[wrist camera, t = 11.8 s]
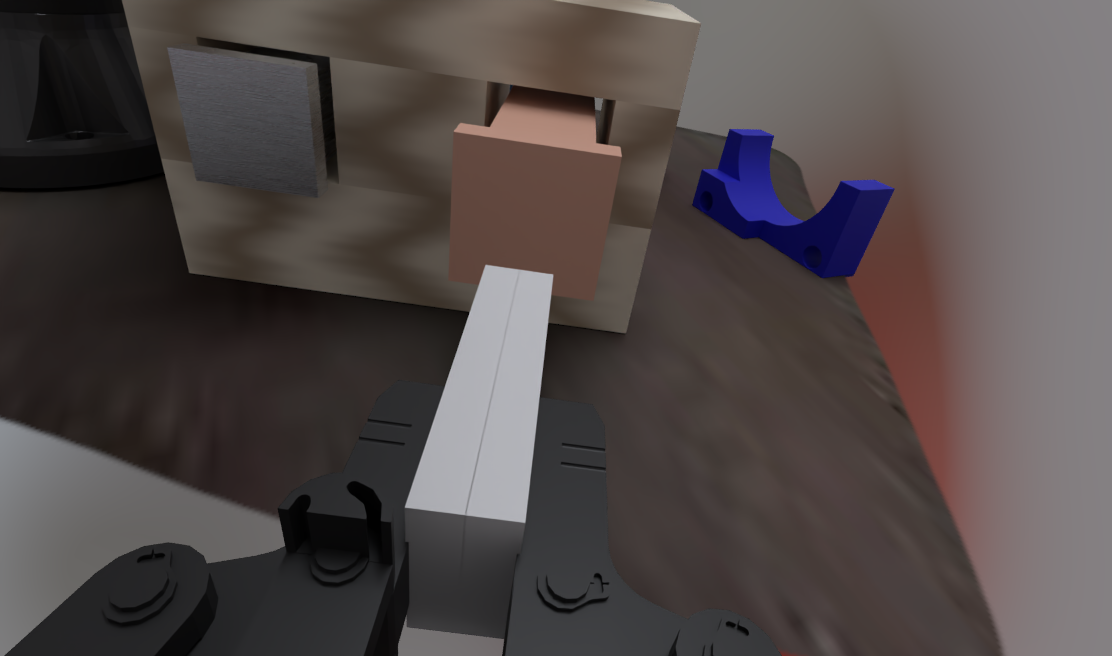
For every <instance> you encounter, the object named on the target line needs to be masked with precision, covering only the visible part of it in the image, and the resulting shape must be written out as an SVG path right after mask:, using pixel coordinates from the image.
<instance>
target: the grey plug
mask: <svg viewBox="0 0 1112 656" xmlns="http://www.w3.org/2000/svg"><path fill="white" fill-rule="evenodd" d="M167 49H168V53H169V58H170V63H171V67H172V72H173V76H174V81H175V86H176V90H177V95H178V99H179V104H180V109H181V113H182V118H183V122H184V127H185V132H186V136H187V141H188V145H189V150H190V155H191V159H192V164H193V168H194V173H195V177H196V181H203V182H210V183H217V184H224V185H231V186H238V187H245V188H252V189H259V190H265V191H272V192H279V193H286V194H293V195H300V196H307V197H314V198H319V197H320V196H321V195H323V194H324V193H325V192H326V191H327V190H328V183H327V171H326V162H327V161H328V160H329V159H330V158H332V157H333V156H334V155H335V154H337V148H336V135H335V122H334V109H333V96H332V83H331V70H330V57H327V56H320V55H313V54H307V53H300V52H294V51H287V50H281V49H274V48H267V47H260V48H257V49H253V50H250V51H246V52H238V51H231V50H225V49H218V48H211V47H205V46H198V45H192V44H185V43H183V44H179V45H174V46H170V47H167Z"/></svg>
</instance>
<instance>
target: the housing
mask: <svg viewBox="0 0 1112 656" xmlns="http://www.w3.org/2000/svg"><path fill="white" fill-rule="evenodd" d="M122 3H123V7H124V11H125V15H126V19H127V23H128V27H129V31H130V35H131V39H132V43H133V47H134V51H135V55H136V59H137V63H138V67H139V71H140V75H141V79H142V83H143V88H144V92H145V96H146V100H147V104H148V108H149V112H150V116H151V120H152V124H153V128H154V132H155V136H156V140H157V144H158V148H159V152H160V156H161V160H162V164H163V169H164V173H165V177H166V181H167V185H168V189H169V193H170V197H171V201H172V205H173V209H174V213H175V217H176V221H177V225H178V229H179V233H180V237H181V241H182V245H183V249H184V254H185V258H186V262H187V266H188V270H189V273H193V274H200V275H208V276H215V277H222V278H229V279H236V280H244V281H251V282H258V283H265V284H273V285H280V286H287V287H294V288H301V289H309V290H316V291H323V292H330V293H337V294H345V295H352V296H359V297H366V298H374V299H381V300H388V301H395V302H402V303H410V304H417V305H424V306H431V307H438V308H446V309H453V310H460V311H467V312H470V310H471V307H472V304H473V301H474V298H475V295H476V292H477V289H478V286H479V285H476V284H469V283H462V282H455V281H448V276H449V247H450V218H451V189H452V160H453V132H454V130H455V129H456V128H457V126H458V125H459V124H460V123H464V124H471V125H477V126H484V127H490V126H491V124H492V123H493V121H494V119H495V117H496V116H497V114H498V112H499V110H500V108H501V107H502V105H503V103H504V101H505V100H506V98H507V96H508V94H509V91H510V84H511V85H517V86H524V87H530V88H537V89H544V90H550V91H557V92H563V93H570V94H576V95H583V96H590V97H596V98H603V103H602V109H601V115H600V121H599V126H598V132H597V138H596V143H598V144H605V145H611V146H618V147H620V148H621V154H622V159H621V164H620V169H619V174H618V179H617V184H616V189H615V195H614V200H613V205H612V210H611V215H610V220H609V225H608V230H607V235H606V240H605V245H604V250H603V255H602V260H601V265H600V270H599V276H598V281H597V286H596V291H595V296H594V301H590V300H583V299H576V298H569V297H562V296H555V295H551V300H550V309H549V318H548V323H554V324H561V325H568V326H576V327H583V328H590V329H597V330H604V331H612V332H619V333H626V331H627V327H628V323H629V319H630V315H631V311H632V306H633V302H634V298H635V294H636V290H637V286H638V282H639V278H640V274H641V269H642V265H643V261H644V257H645V253H646V249H647V245H648V241H649V236H650V232H651V228H652V224H653V220H654V216H655V212H656V208H657V203H658V199H659V195H660V191H661V187H662V183H663V179H664V175H665V170H666V166H667V162H668V158H669V154H670V150H671V146H672V142H673V138H674V133H675V129H676V125H677V121H678V117H679V112H680V109H681V104H682V100H683V96H684V92H685V88H686V84H687V80H688V75H689V72H690V67H691V63H692V59H693V55H694V51H695V47H696V42H697V39H698V35H699V30H700V26H701V23H699V22H698V21H696V20H695V19H693V18H692V17H690V16H688V15H686V14H685V13H684V12H682V11H680V10H679V9H677V8H676V7H674V6H673V5H671V4H664V3H658V2H652V1H646V0H122ZM183 43H185V44H192V45H198V46H205V47H211V48H218V49H225V50H231V51H238V52H246V51H250V50H253V49H257V48H260V47H267V48H274V49H281V50H287V51H294V52H300V53H307V54H313V55H320V56H327V57H330V70H331V83H332V96H333V109H334V122H335V135H336V148H337V154H335V155H334V156H333V157H332V158H330V159H329V160H328V161H327V162H326V171H327V183H328V190H327V191H326V192H325V193H324V194H323V195H321V196H320V197H319V198H314V197H307V196H300V195H293V194H286V193H279V192H272V191H265V190H259V189H252V188H245V187H238V186H231V185H224V184H217V183H210V182H203V181H196V177H195V173H194V168H193V164H192V159H191V155H190V150H189V145H188V141H187V136H186V132H185V127H184V122H183V118H182V113H181V109H180V104H179V99H178V95H177V90H176V86H175V81H174V76H173V72H172V67H171V63H170V58H169V53H168V49H167V47H170V46H174V45H179V44H183Z"/></svg>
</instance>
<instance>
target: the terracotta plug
mask: <svg viewBox="0 0 1112 656" xmlns="http://www.w3.org/2000/svg"><path fill="white" fill-rule="evenodd" d="M621 159H622V154H621V148H620V147H618V146H611V145H605V144H598V143H596V125H595V100H594V97H590V96H583V95H576V94H570V93H563V92H557V91H550V90H544V89H537V88H530V87H524V86H517V85H514V86H513V87H512V89H511V91H510V93H509V94H508V96H507V98H506V100H505V101H504V103H503V105H502V107H501V108H500V110H499V112H498V114H497V116H496V117H495V119H494V121H493V123H492V124H491V126H490V127H484V126H477V125H471V124H464V123H460V124H459V125H458V126H457V128H456V129H455V130H454V132H453V160H452V189H451V218H450V247H449V276H448V281H455V282H462V283H469V284H476V285H479V283H480V280H481V277H482V274H483V271H484V268H485V265H490V266H497V267H504V268H511V269H518V270H525V271H532V272H539V273H546V274H553V283H552V292H551V295H555V296H562V297H569V298H576V299H583V300H590V301H594V296H595V291H596V286H597V281H598V276H599V270H600V265H601V260H602V255H603V250H604V245H605V240H606V235H607V230H608V225H609V220H610V215H611V210H612V205H613V200H614V195H615V189H616V184H617V179H618V174H619V169H620V164H621Z"/></svg>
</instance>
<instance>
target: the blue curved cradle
mask: <svg viewBox="0 0 1112 656" xmlns="http://www.w3.org/2000/svg"><path fill="white" fill-rule="evenodd" d="M773 138H774V135H771V134H769V133H766V132H764V131H762V130H749V129H744V130H743V129H729V133H728V136H727V140H726V143H725V146H724V150H723V153H722V157H721V160H720V163H719V167H718V169H705V170H702V172H701V175H700V179H699V182H698V186H697V190H696V193H695V197H694V200H693V204H692V205H693V206H695V207H696V208H698V209H699V210H701V211H702V212H704V213H705V214H707V215H708V216H710V217H711V218H713V219H714V220H716V221H717V222H719V223H720V224H722V225H723V226H725V227H726V228H727V229H729V230H730V231H732V232H733V233H735V234H736V235H738V236H739V237H741V238H742V239H743V238H755V237H759V238H761V239H762V240H764V241H765V242H767V243H769V244H770V245H772V246H773V247H775V248H776V249H778V250H779V251H781V252H782V253H784V254H786V255H787V256H789V257H790V258H792V259H793V260H795V261H796V262H798V263H799V264H801V265H803V266H804V267H806V268H807V269H809V270H810V271H812V272H813V273H815V274H817V275H818V276H820V277H821V278H827V277H834V276H841V275H845V277H852V276H854V274H855V271H856V269H857V267H858V265H859V263H860V261H861V259H862V257H863V255H864V253H865V250H866V248H867V246H868V244H869V242H870V240H871V238H872V236H873V234H874V231H875V229H876V227H877V225H878V223H879V221H880V219H881V217H882V215H883V213H884V210H885V208H886V206H887V204H888V202H889V200H890V198H891V196H892V193H893V191H894V188H891V187H889V186H887V185H884V184H882V183H880V182H878V181H876V180H860V181H859V180H857V181H841V182H840V184H839V186H838V188H837V190H836V192H835V193H834V195H833V197H832V198H831V199H830V201H829V202H828V203H827V204H826V206H825V207H824V208H823V209H822V210H821V211H820V212H819V213H817V214H816V215H815V216H813V217H812V218H810V219H808V220H807V221H802V220H799V219H797V218H796V217H794V216H792V215H791V214H790V213H789V212H788V211H787V210H785V208H784V207H783V206H782V205H781V203H780V202H779V200H778V198H777V196H776V194H775V192H774V189H773V186H772V183H771V178H770V168H769V161H770V151H771V146H772V141H773Z"/></svg>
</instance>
